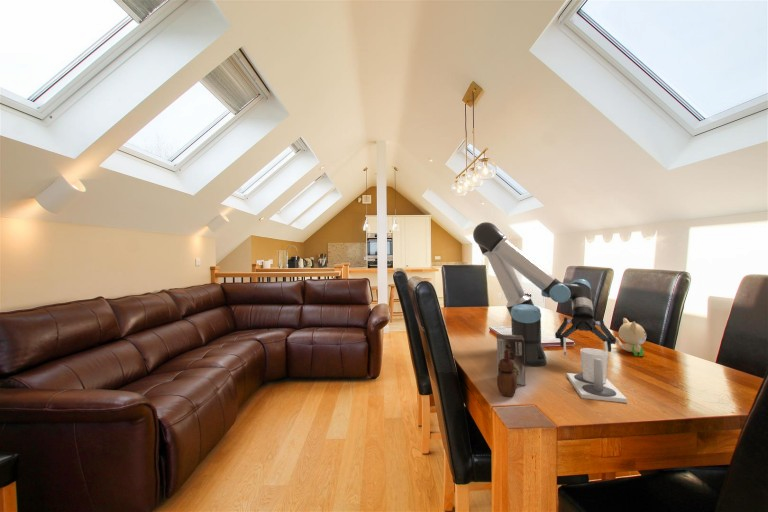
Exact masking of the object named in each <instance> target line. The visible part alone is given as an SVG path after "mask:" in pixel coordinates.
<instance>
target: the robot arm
mask: <svg viewBox="0 0 768 512" xmlns="http://www.w3.org/2000/svg"><path fill="white" fill-rule="evenodd" d="M472 235H473V236H472V237H473V240H474V241H475V243H476V244H477V245H478V247H479V250H480V251H481V253H482V255H483V256H485V257H487V259H488V262H489V264H490V265H491V268H492V270H493V272H494V274H495V278H496V279H497V281H498V283H499V286H500V288H501V290H502V292H503V294H504V297H505V298H506V301H507V304H506V308H507V311H508V313H509V315H510V317H511V319H510V320H511V335H522V336H523V339H524V355H525V366H526V365H527V366H528V367H541V366H544V365H546V364H547V356H546V352H545V350H544V347H543V345H542V320H541V319H542V313H541V308H540V307H538V306H536V305H535V304H534V301H533V300H532V298H531V297H530V296H528V295H526V293H525V291H524V289H523V287H522V285H521V282H520V281H519V277H518V276H517V274H516V272H515V271H517V272H518V273H520V274H521V275H522V276H523V277H525V279H527V280H528V281H529V282H530V283H532V284H533V285H535V287H537V288H539V289H540V290H541V296H542V297H544V298H547V299H548V298H550V299H551V300H552V301H553V302H555V303H559V304H560V303H561V304H562V303H566V302H568V301H571V311H572V313H571V314H572V315H571V316H572V318H571V319H570V318H568V317H564V318H563V322H561V325H560V326H559V328H558V329H557V330H556V332H555V333H554V335H555V336H554V337H555V339H558V340H559V341H560V343H559V344H560V347H561V348H563V355H564V356H567V344H566V343H567V338H568V337H569V336H571V335H572V333H574V332H576V331H579V332H580V331H583V332H591V333H592V334H594V335H595V336H597V337H598V339H599V340H601V341H602V342H603V346H604V351H606V352H607V353H608V354H607V362H608V361H609V358H610V356H609V355H610V354H609V353H611V352H612V345H616V344H617V343H616V337H615V336H614V335H613V334H612V332H611V331H610V330H609V328H608V327H607V326H606V324H605V322H604V320H603V319H600V320H597V321H596V320H595V318H594V305H593V297H592V295H593V294H592V288H591V284H590V282H589V281H588V280H587V279H582V278H579V279H574V280H573V281H571V282H570V283H569V282H561V281H560V280H558V279H557V278H556V277H555V276H554V275H552V274H551V273H550V272H549V271H547V270H546V269H544V268H543V266H541V265H539V264H538V263H537V262H536V261H534V260H533V259H531V257H529V256H528V255H527V254H525V253H524V252H523V251H521V250H520V249H519V248H517V247H516V246H515V245H514V244H512V242H510V241H509V240H508V238H507V235H505V234H503V233H502V231H500V229H499V228H498V227H497V226H496V225H495V224H493V223H491V222H489V221H488V222H487V221H485V222H484V221H483V222H481V223H479V224H477V226H475V228H474V230H473V232H472ZM514 269H515V270H514ZM570 323H571V324H572V325H571V326H570V327H569V328H567V327H568V325H570ZM596 325H597V326H596ZM597 327H599V328H600V329H601V330H599V329H598V328H597ZM566 328H567V329H566ZM565 329H566V330H565ZM527 366H526V367H527Z"/></svg>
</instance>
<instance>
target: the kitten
mask: <svg viewBox="0 0 768 512" xmlns="http://www.w3.org/2000/svg"><path fill="white" fill-rule="evenodd" d="M618 336H619V338H618V337H617V336H616V337H615V338H616V344H617V345H618V346H619V347H620V348H621V349H623V350H625V351H626V352H629V353H633V356H635V357H639V356H643V357H644V349H643V346H642V344H644V343H645V342H646V339H647V336H648V334H647V332H646V331H645V329H644V328H643V326H642V325H641V324H639V323H636V321H632V322H630V321H629V320H628V319H627V318H626V317H623V318H622V324H621V326H620V327H619V329H618ZM620 339H621V340H622V341H623V342H625V343H624V344H623V343H622V342H621V340H620Z"/></svg>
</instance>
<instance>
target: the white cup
mask: <svg viewBox="0 0 768 512" xmlns="http://www.w3.org/2000/svg"><path fill="white" fill-rule="evenodd" d="M579 352H580V363H581V371H582V374H583V379H584V380H586V381H589V382H592V383H594V358H598V359H602V360H603V383H605V382H606V378H607V374H608V370H607V369H608V361H607V354H609V352H608V353H607V352H606V351H605V350H603V349H599V348H594V347H593V348H591V347H590V348H589V347H583V348H580V351H579Z"/></svg>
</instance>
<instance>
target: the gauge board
mask: <svg viewBox="0 0 768 512" xmlns="http://www.w3.org/2000/svg"><path fill="white" fill-rule="evenodd" d="M577 374H578V373H570V372H566V377H567V378H569V379H568V380H569V382H570V383H571V385H572V386H573V387H574V389H575V391H576V392H577V394H578V395H579V396H580V398H581V399H588V400H598V401H607V402H615V403H626V404H628V398H627V397H626V396H625V395H624V394H623V393H622V392H621V391H620V390H619V389H618V388H617V387H616V386H615V385H614V384H613V383H612V382H611V381H610V380H609V379H608V378H607V377H606V382H605V383H603V360H602V359H598V358H594V384H589V383H584V382H581V381H579V380H577V379H575V378H574V376H575V375H577Z"/></svg>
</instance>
